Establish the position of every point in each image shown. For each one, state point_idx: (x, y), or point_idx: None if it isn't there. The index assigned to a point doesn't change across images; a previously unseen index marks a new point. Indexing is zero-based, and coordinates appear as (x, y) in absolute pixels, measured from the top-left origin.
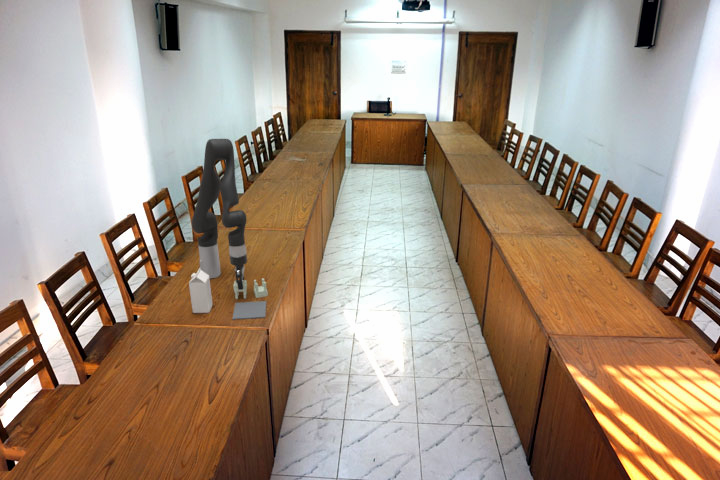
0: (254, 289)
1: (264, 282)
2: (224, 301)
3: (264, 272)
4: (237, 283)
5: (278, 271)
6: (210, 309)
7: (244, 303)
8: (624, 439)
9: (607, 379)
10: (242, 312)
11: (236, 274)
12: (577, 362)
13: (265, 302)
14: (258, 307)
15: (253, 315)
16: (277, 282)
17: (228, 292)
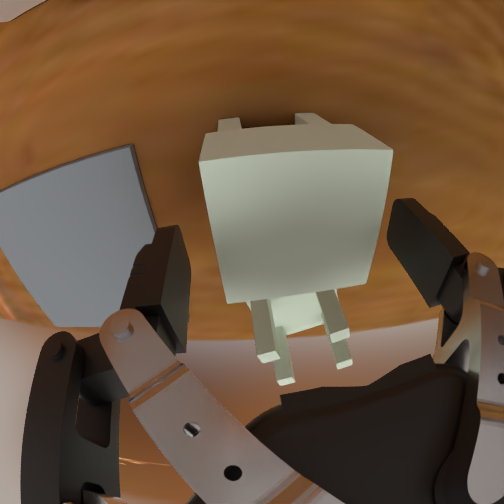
0: None
1: (284, 381)
2: (174, 34)
3: (494, 247)
4: (294, 205)
5: None
6: (41, 2)
7: (130, 219)
8: None
9: (124, 460)
10: (34, 236)
11: (31, 495)
12: (138, 461)
13: None
14: (109, 300)
15: (38, 289)
16: (395, 313)
17: (353, 43)
